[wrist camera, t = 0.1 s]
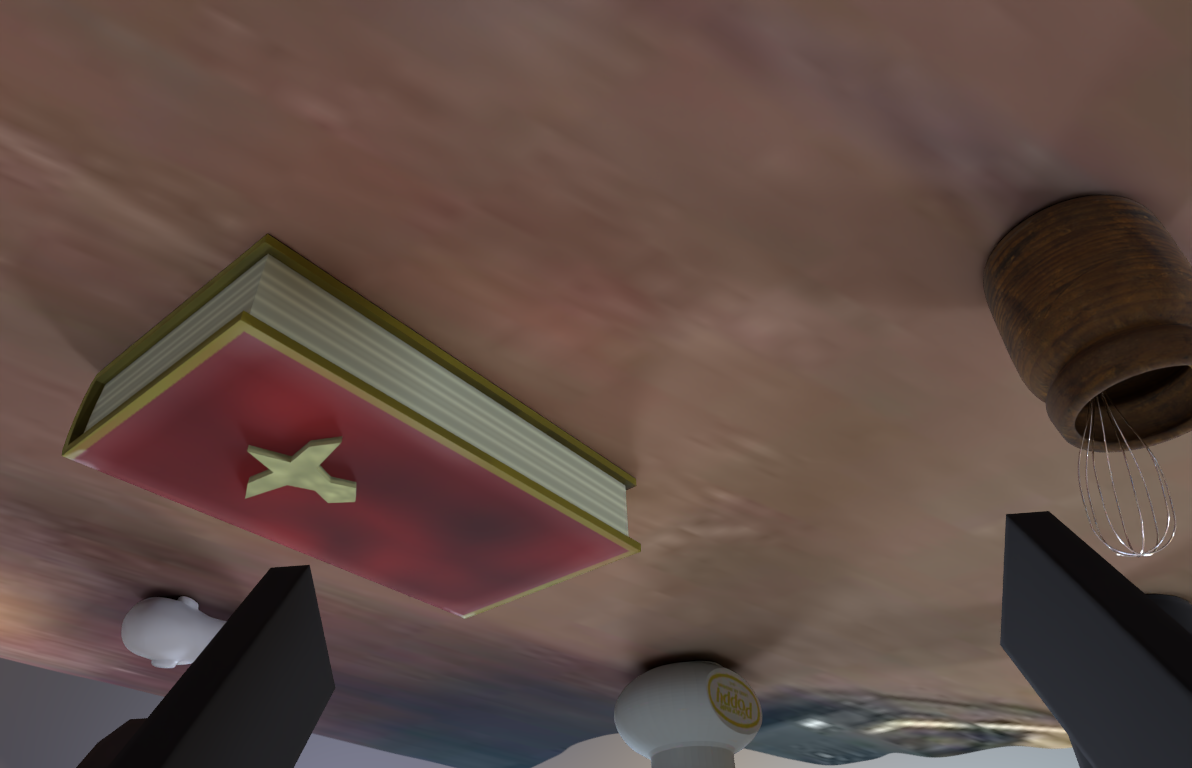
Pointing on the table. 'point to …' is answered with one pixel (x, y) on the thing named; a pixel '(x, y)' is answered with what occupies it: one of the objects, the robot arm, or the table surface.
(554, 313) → the table surface
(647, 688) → the air freshener
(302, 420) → the hardcover book
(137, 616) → the white bust figurine
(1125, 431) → the utensil holder
